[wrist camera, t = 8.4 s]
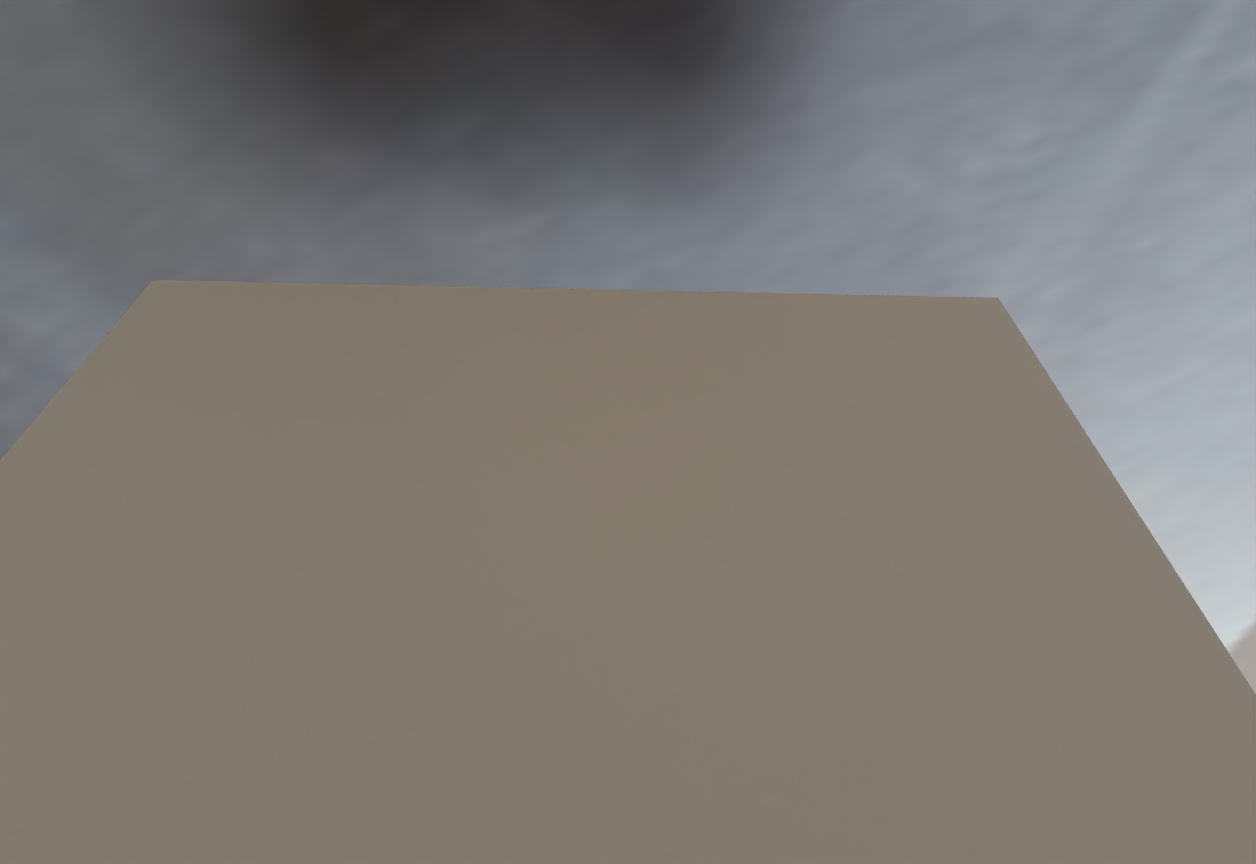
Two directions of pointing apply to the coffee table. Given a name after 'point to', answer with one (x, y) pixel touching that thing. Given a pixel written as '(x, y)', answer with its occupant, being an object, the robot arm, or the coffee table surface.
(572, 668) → the cream cuboid
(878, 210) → the coffee table surface
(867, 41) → the coffee table surface
